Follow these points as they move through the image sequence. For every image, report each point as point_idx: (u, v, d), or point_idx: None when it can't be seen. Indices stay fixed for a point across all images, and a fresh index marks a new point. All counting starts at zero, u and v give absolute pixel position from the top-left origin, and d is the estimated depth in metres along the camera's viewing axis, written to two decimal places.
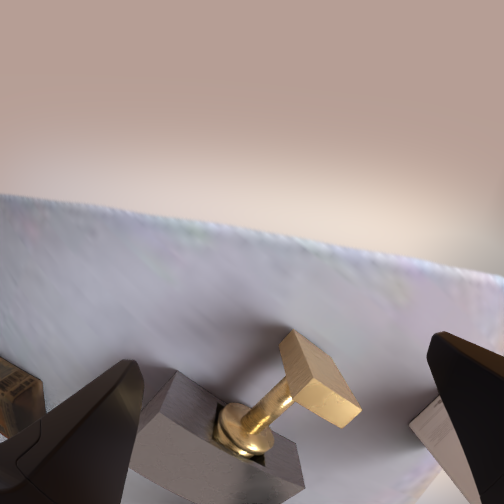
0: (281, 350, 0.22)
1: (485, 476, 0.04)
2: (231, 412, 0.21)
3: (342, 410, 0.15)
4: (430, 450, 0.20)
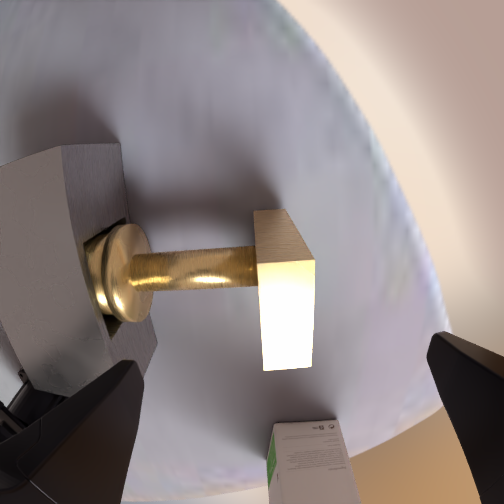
0: (256, 215, 0.15)
1: (485, 477, 0.04)
2: (132, 236, 0.15)
3: (292, 344, 0.10)
4: (280, 470, 0.18)
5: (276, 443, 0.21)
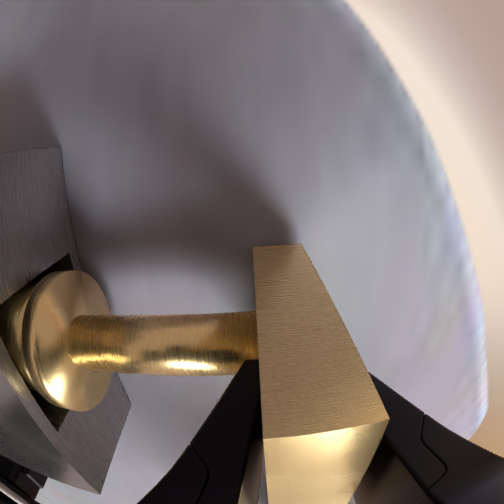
0: (257, 260, 0.10)
1: None
2: (70, 291, 0.09)
3: None
4: None
5: None
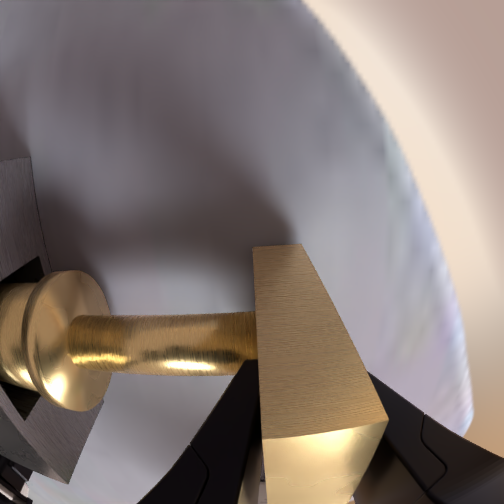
0: (257, 260, 0.10)
1: None
2: (69, 291, 0.09)
3: None
4: None
5: None
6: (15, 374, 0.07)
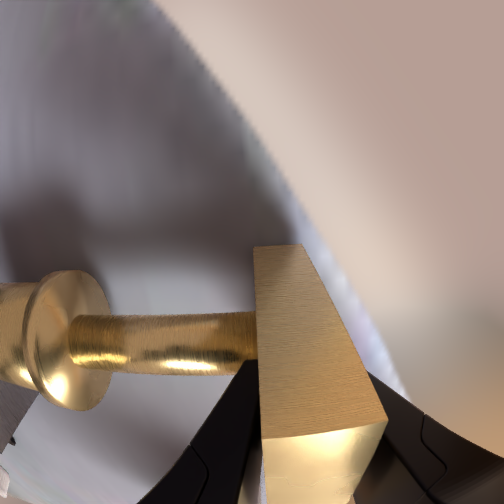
0: (257, 260, 0.10)
1: None
2: (70, 290, 0.09)
3: None
4: None
5: None
6: (16, 373, 0.07)
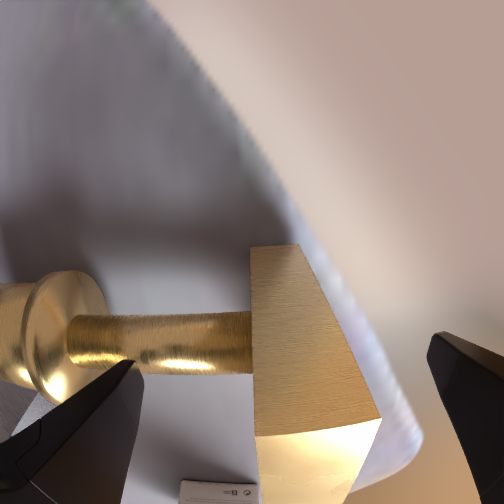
0: (254, 260, 0.10)
1: (485, 476, 0.04)
2: (68, 291, 0.09)
3: (313, 503, 0.04)
4: None
5: (179, 503, 0.15)
6: (15, 373, 0.07)
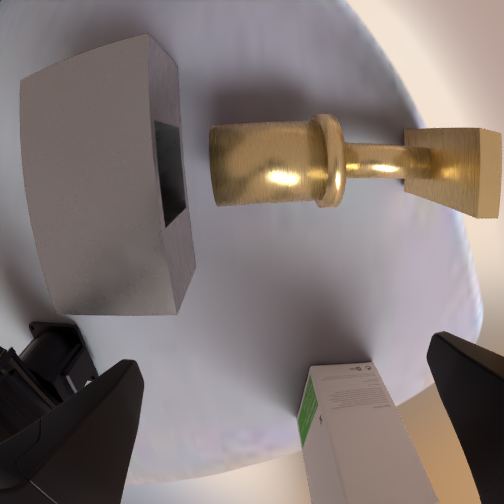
0: (415, 129, 0.16)
1: (485, 476, 0.04)
2: None
3: (492, 195, 0.11)
4: (324, 410, 0.19)
5: (315, 384, 0.22)
6: (299, 166, 0.13)
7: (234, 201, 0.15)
